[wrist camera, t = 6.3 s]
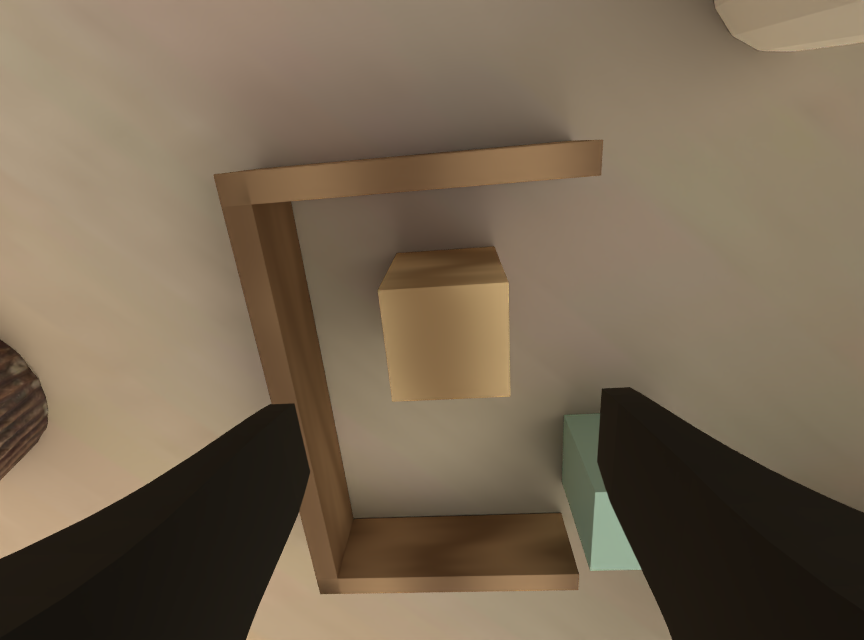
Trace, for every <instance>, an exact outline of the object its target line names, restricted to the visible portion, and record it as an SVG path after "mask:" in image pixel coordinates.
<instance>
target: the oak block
mask: <svg viewBox="0 0 864 640" xmlns="http://www.w3.org/2000/svg"><path fill="white" fill-rule="evenodd" d="M378 296H379V304H380V311H381V319H382V327H383V334H384V342H385V349H386V357H387V365H388V372H389V380H390V388H391V395H392V402H396V401H418V400H441V399H463V398H486V397H509V396H510V347H509V282H508V280H507V277H506V275H505V272H504V270H503V267H502V265H501V262H500V260H499V257H498V255H497V252H496V250H495V247H479V248H465V249H450V250H435V251H421V252H406V253H397V254H396V256H395V258H394V260H393V262H392V264H391V266H390V268H389V269H388V271H387V273H386V275H385V277H384V279H383V281H382V283H381V285H380V287H379V289H378Z"/></svg>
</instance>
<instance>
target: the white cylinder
mask: <svg viewBox="0 0 864 640" xmlns="http://www.w3.org/2000/svg"><path fill="white" fill-rule="evenodd" d="M714 5H715V9H716V11H717V12H718V14H719V15H720V17H721V19H722V20H723V22H724V24H725V25H726V27H727V28H728V30H729V32H730V33H731V35H732V36H733V37H735V38H737V39H739V40H740V41H742V42H744V43H746V44H747V45H749V46H751V47H753V48H755V49H756V50H758V51H781V52H794V51H802V50H809V49H817V48H825V47H832V46H840V45H848V44H855V43H863V42H864V0H714Z"/></svg>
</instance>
